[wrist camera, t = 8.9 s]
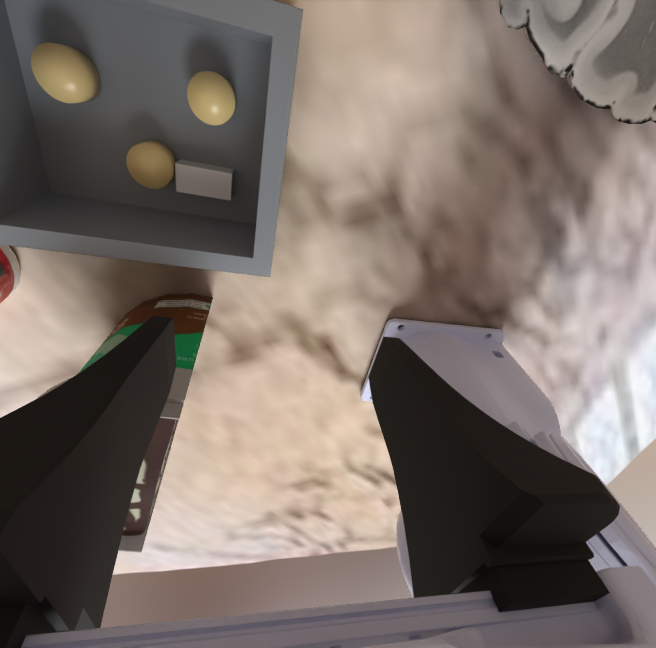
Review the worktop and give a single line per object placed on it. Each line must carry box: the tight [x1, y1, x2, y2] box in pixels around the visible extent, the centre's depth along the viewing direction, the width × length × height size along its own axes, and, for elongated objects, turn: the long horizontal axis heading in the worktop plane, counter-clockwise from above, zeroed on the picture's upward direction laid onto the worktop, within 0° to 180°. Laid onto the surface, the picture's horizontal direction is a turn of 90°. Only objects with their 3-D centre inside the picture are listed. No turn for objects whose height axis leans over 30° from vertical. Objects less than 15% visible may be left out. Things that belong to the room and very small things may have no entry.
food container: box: [37, 294, 213, 552], centre depth 18 cm, size 12×6×10 cm, turn 156°
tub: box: [0, 0, 303, 277], centre depth 13 cm, size 11×9×5 cm
